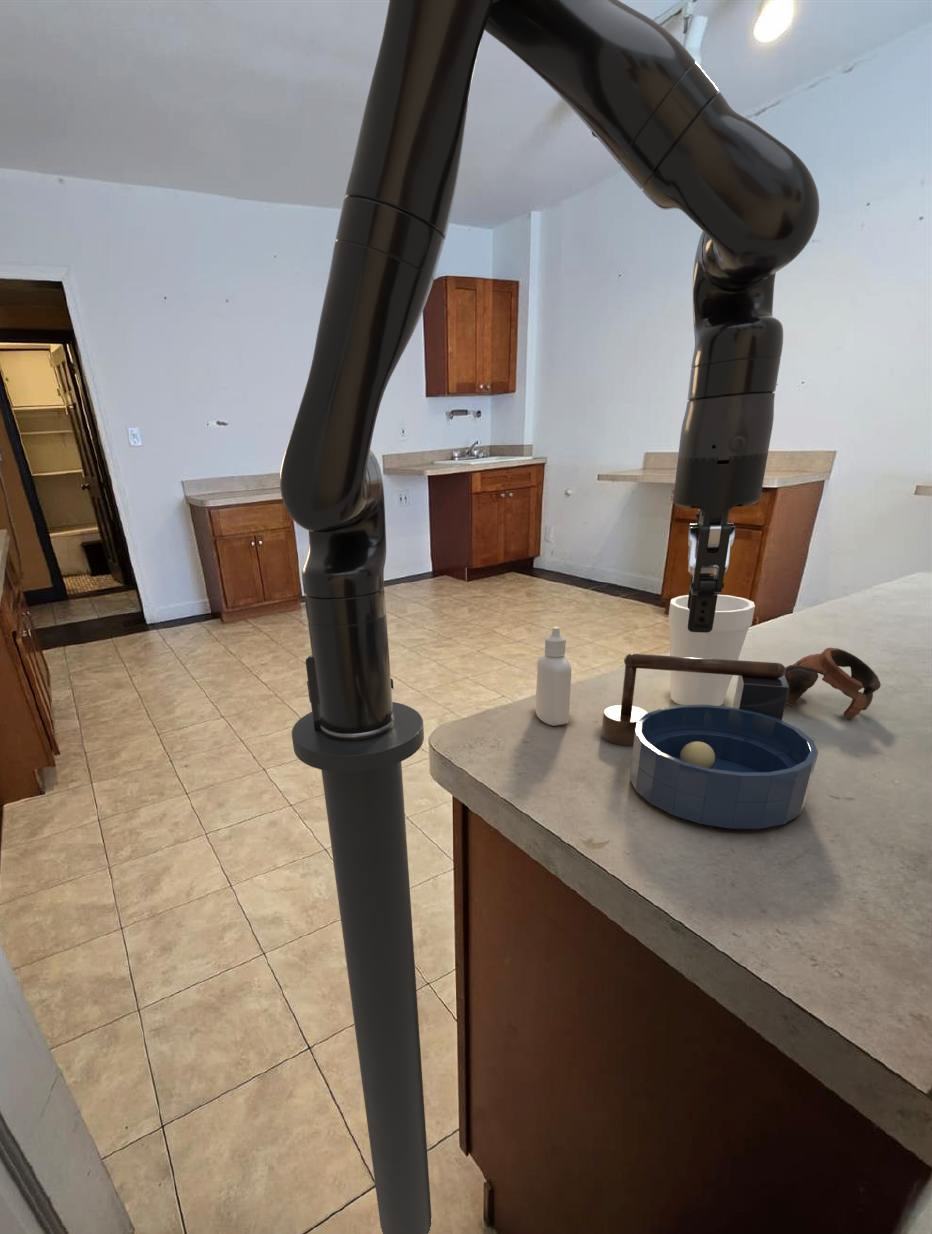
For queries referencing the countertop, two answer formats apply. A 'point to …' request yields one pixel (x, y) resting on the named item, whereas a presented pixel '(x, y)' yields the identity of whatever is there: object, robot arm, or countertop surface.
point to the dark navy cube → (762, 695)
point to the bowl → (723, 766)
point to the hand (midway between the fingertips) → (698, 620)
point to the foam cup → (707, 648)
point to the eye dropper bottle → (553, 681)
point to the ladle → (625, 716)
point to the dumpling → (698, 754)
